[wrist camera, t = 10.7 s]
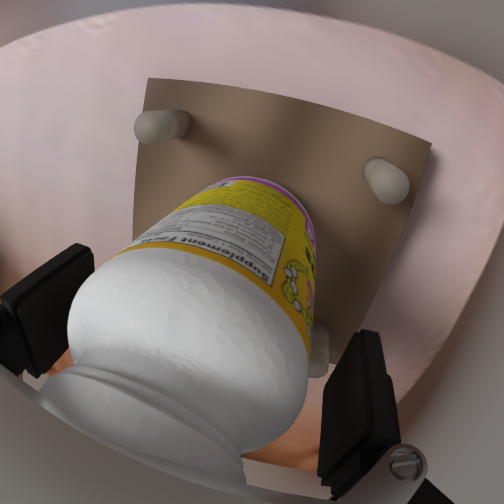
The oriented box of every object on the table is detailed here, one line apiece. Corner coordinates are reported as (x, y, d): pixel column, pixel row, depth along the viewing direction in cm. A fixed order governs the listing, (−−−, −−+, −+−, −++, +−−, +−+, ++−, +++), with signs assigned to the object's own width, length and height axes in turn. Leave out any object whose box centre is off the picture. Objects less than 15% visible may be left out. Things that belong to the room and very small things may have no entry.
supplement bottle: (287, 310, 17) (231, 548, 6) (178, 267, 17) (32, 454, 6) (338, 202, 14) (370, 509, 2) (207, 153, 14) (-57, 298, 3)
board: (421, 140, 13) (458, 151, 9) (338, 349, 19) (337, 401, 15) (161, 79, 14) (113, 74, 10) (143, 291, 21) (109, 329, 17)
